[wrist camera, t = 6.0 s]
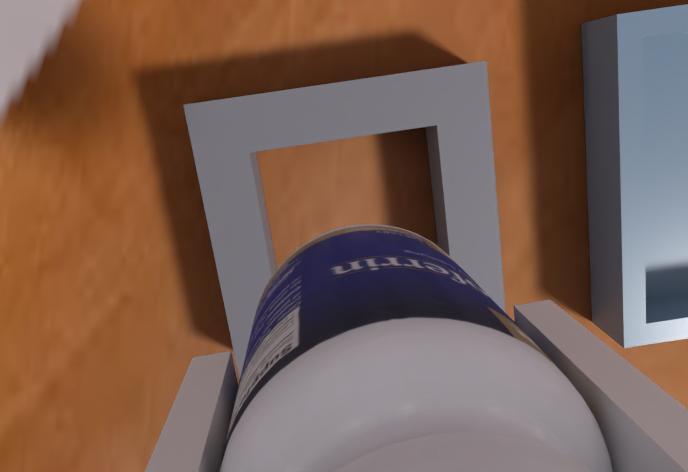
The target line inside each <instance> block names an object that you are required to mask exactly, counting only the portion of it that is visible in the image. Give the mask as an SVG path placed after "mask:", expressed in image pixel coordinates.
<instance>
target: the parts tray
mask: <svg viewBox="0 0 688 472" xmlns="http://www.w3.org/2000/svg"><path fill="white" fill-rule="evenodd" d="M581 28H582V56H583V84H584V112H585V139H586V167H587V195H588V223H589V251H590V279H591V306H592V322H593V323H594V324H595V325H596V326H598V327H599V328H600V329H601V330H603V331H604V332H605V333H606V334H607V335H609V336H610V337H611V338H612V339H614V340H615V341H616V342H617V343H619V344H620V345H621V346H622V347H623V348H628V347H634V346H641V345H647V344H654V343H660V342H666V341H673V340H679V339H686V338H688V4H685V5H678V6H671V7H664V8H658V9H651V10H644V11H637V12H630V13H623V14H616V15H612V16H609V17H605V18H601V19H597V20H593V21H589V22H585V23H581Z"/></svg>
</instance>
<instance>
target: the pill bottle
mask: <svg viewBox="0 0 688 472" xmlns="http://www.w3.org/2000/svg"><path fill="white" fill-rule="evenodd" d="M220 472H613V470H612V465H611V460H610V456H609V453H608V449H607V446H606V443H605V440H604V437H603V435H602V432H601V430H600V428H599V425H598V423H597V421H596V419H595V417H594V416H593V414H592V412H591V411H590V409H589V407H588V406H587V404H586V402H585V401H584V399H583V398H582V396H581V395H580V394H579V392H578V391H577V390H576V389H575V387H574V386H573V385H572V383H571V382H570V381H569V379H568V378H567V377H566V376H565V375H564V374H563V372H562V371H561V370H560V369H559V368H558V366H557V365H556V364H555V363H554V362H553V361H552V360H551V359H550V358H549V357H548V356H547V355H546V354H545V353H544V352H543V351H542V350H541V349H540V348H539V347H538V346H537V345H536V344H535V343H534V341H533V340H532V339H531V338H530V337H529V336H528V335H527V334H526V333H525V332H524V331H523V330H521V329H520V328H519V327H518V325H517V324H516V323H515V322H514V321H513V320H512V319H511V318H510V317H509V316H508V315H507V314H506V313H505V312H504V311H503V310H502V309H501V308H500V307H499V305H498V304H497V303H496V302H495V301H494V300H492V299H491V298H490V297H489V296H488V295H487V294H486V293H485V292H484V290H483V289H482V288H481V287H480V286H479V285H478V284H477V283H476V282H475V281H474V280H473V279H472V278H471V277H470V276H469V275H468V274H467V273H466V272H465V271H464V270H463V269H462V268H461V267H460V266H459V265H458V264H457V263H456V262H455V261H454V260H453V259H452V258H451V257H450V256H449V255H448V254H447V253H445V252H444V251H443V250H442V249H441V248H439V247H438V246H437V245H436V244H434V243H433V242H431V241H429V240H428V239H426V238H424V237H422V236H420V235H418V234H416V233H414V232H411V231H409V230H405V229H402V228H398V227H394V226H388V225H380V224H359V225H350V226H344V227H340V228H337V229H333V230H330V231H328V232H325V233H323V234H321V235H319V236H317V237H315V238H313V239H311V240H310V241H308V242H306V243H305V244H303V245H302V246H300V247H299V248H298V249H296V250H295V251H294V252H293V253H292V254H291V255H290V256H289V257H287V258H286V259H285V260H284V262H283V263H282V264H281V265H280V266H279V267H278V269H277V270H276V271H275V272H274V274H273V275H272V277H271V278H270V280H269V282H268V283H267V285H266V287H265V289H264V291H263V294H262V296H261V299H260V301H259V304H258V307H257V310H256V314H255V318H254V322H253V326H252V330H251V334H250V339H249V343H248V347H247V351H246V356H245V360H244V365H243V369H242V373H241V377H240V382H239V386H238V391H237V395H236V400H235V404H234V409H233V413H232V418H231V422H230V426H229V431H228V435H227V440H226V443H225V447H224V450H223V454H222V459H221V464H220Z"/></svg>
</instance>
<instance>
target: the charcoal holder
mask: <svg viewBox="0 0 688 472" xmlns="http://www.w3.org/2000/svg"><path fill="white" fill-rule="evenodd" d="M183 106H184V111H185V116H186V121H187V126H188V131H189V136H190V140H191V145H192V150H193V155H194V160H195V165H196V170H197V175H198V179H199V184H200V189H201V194H202V199H203V204H204V209H205V214H206V218H207V223H208V228H209V233H210V238H211V243H212V248H213V253H214V258H215V262H216V267H217V272H218V277H219V282H220V287H221V292H222V297H223V301H224V306H225V311H226V316H227V321H228V326H229V331H230V336H231V340H232V345H233V350H234V355H235V360H236V365H237V370H238V375H239V380H240V377H241V373H242V369H243V365H244V360H245V356H246V351H247V347H248V343H249V339H250V334H251V330H252V326H253V322H254V318H255V314H256V310H257V307H258V304H259V301H260V299H261V296H262V294H263V291H264V289H265V287H266V285H267V283H268V282H269V280H270V278H271V277H272V275H273V274H274V272H275V271H276V270H277V266H276V261H275V255H274V249H273V244H272V238H271V233H270V227H269V221H268V216H267V210H266V204H265V199H264V193H263V187H262V182H261V176H260V171H259V165H258V159H257V154H256V152H258V151H264V150H271V149H278V148H285V147H292V146H298V145H305V144H312V143H319V142H326V141H333V140H339V139H346V138H353V137H360V136H367V135H373V134H380V133H387V132H394V131H401V130H407V129H414V128H421V127H426V136H427V146H428V156H429V165H430V175H431V185H432V194H433V204H434V214H435V223H436V233H437V242H438V247H439V248H441V249H442V250H443V251H444V252H445V253H447V254H448V255H449V256H450V257H451V258H452V259H453V260H454V261H455V262H456V263H457V264H458V265H459V266H460V267H461V268H462V269H463V270H464V271H465V272H466V273H467V274H468V275H469V276H470V277H471V278H472V279H473V280H474V281H475V282H476V283H477V284H478V285H479V286H480V287H481V288H482V289H483V290H484V292H485V293H486V294H487V295H488V296H489V297H490V298H491V299H492V300H494V301H495V302H496V303H497V304H498V305H499V307H500V308H501V309H502V310H503V311H504V312H505V299H504V286H503V272H502V259H501V246H500V233H499V220H498V206H497V193H496V180H495V167H494V154H493V140H492V127H491V114H490V101H489V88H488V74H487V61H481V62H475V63H468V64H461V65H454V66H447V67H440V68H433V69H426V70H419V71H412V72H406V73H399V74H392V75H385V76H378V77H371V78H364V79H357V80H350V81H343V82H337V83H330V84H323V85H316V86H309V87H302V88H295V89H288V90H281V91H274V92H268V93H261V94H254V95H247V96H240V97H233V98H226V99H219V100H212V101H206V102H199V103H192V104H185V105H183ZM505 313H506V312H505Z"/></svg>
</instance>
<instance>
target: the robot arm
mask: <svg viewBox="0 0 688 472" xmlns="http://www.w3.org/2000/svg"><path fill="white" fill-rule="evenodd" d="M514 317H515V323H516V324H517V325H518V327H519V328H520V329H521V330H523V331H524V332H525V333H526V334H527V335H528V336H529V337H530V338H531V339H532V340H533V341H534V343H535V344H536V345H537V346H538V347H539V348H540V349H541V350H542V351H543V352H544V353H545V354H546V355H547V356H548V357H549V358H550V359H551V360H552V361H553V362H554V363H555V364H556V365H557V366H558V368H559V369H560V370H561V371H562V372H563V374H564V375H565V376H566V377H567V378H568V379H569V381H570V382H571V383H572V385H573V386H574V387H575V389H576V390H577V391H578V392H579V394H580V395H581V396H582V398H583V399H584V401H585V402H586V404H587V406H588V407H589V409H590V411H591V412H592V414H593V416H594V417H595V419H596V421H597V423H598V425H599V428H600V430H601V432H602V435H603V437H604V440H605V443H606V446H607V449H608V453H609V456H610V460H611V465H612V470H613V472H688V409H687V408H685V407H684V406H683V405H682V404H680V403H679V402H678V401H677V400H675V399H674V398H673V397H672V396H670V395H669V394H668V393H667V392H665V391H664V390H663V389H662V388H660V387H659V386H658V385H657V384H655V383H654V382H653V381H652V380H650V379H649V378H648V377H647V376H645V375H644V374H643V373H642V372H640V371H639V370H638V369H637V368H635V367H634V366H633V365H632V364H630V363H629V362H628V361H627V360H625V359H624V358H623V357H622V356H620V355H619V354H618V353H617V352H615V351H614V350H613V349H612V348H610V347H609V346H608V345H607V344H605V343H604V342H603V341H602V340H600V339H599V338H598V337H597V336H595V335H594V334H593V333H591V332H590V331H589V330H588V329H586V328H585V327H584V326H583V325H581V324H580V323H579V322H578V321H576V320H575V319H574V318H573V317H571V316H570V315H569V314H568V313H566V312H565V311H564V310H563V309H561V308H560V307H559V306H558V305H556V304H555V303H554V302H553V301H551V300H545V301H539V302H532V303H526V304H520V305H514ZM237 391H238V383H237V378H236V373H235V368H234V363H233V358H232V353H231V351H229V352H223V353H217V354H211V355H204V356H198V357H193V358H192V360H191V363H190V365H189V368H188V370H187V372H186V375H185V377H184V380H183V382H182V384H181V387H180V389H179V392H178V394H177V396H176V399H175V401H174V403H173V406H172V408H171V411H170V413H169V415H168V418H167V420H166V423H165V425H164V427H163V430H162V432H161V435H160V437H159V439H158V442H157V444H156V446H155V449H154V451H153V454H152V456H151V458H150V461H149V463H148V466H147V468H146V470H145V472H220V464H221V459H222V454H223V450H224V447H225V443H226V440H227V435H228V431H229V426H230V422H231V418H232V413H233V409H234V404H235V400H236V395H237Z"/></svg>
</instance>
